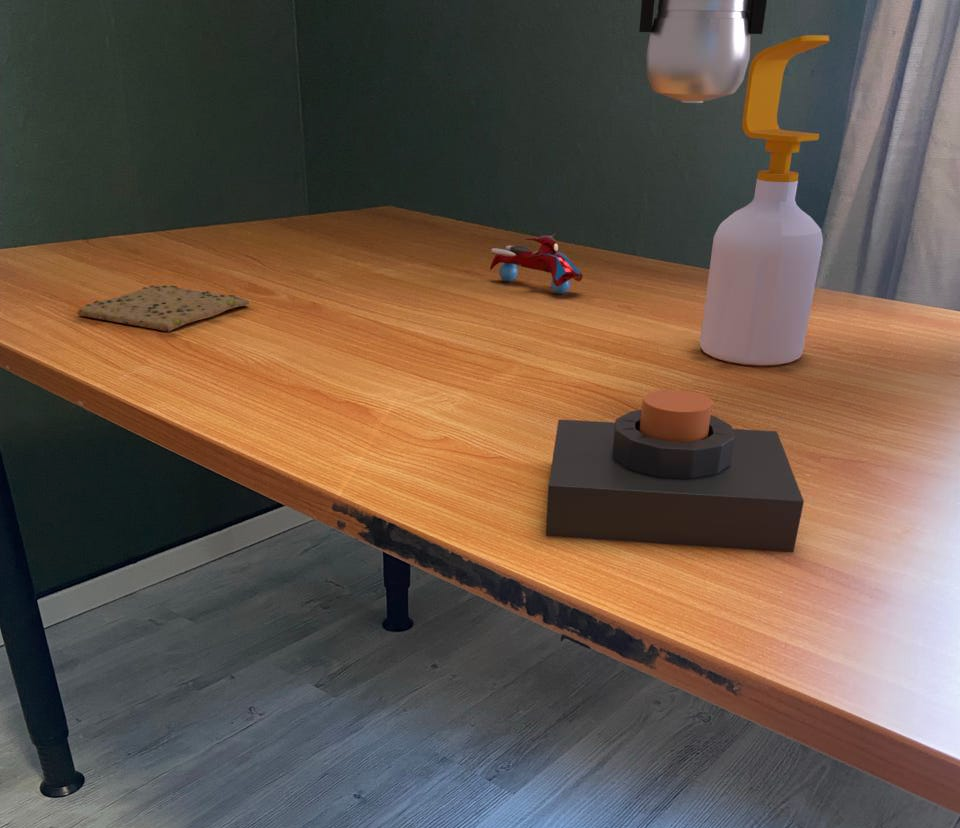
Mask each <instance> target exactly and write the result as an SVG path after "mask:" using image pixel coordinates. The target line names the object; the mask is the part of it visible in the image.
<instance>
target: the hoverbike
mask: <svg viewBox="0 0 960 828" xmlns="http://www.w3.org/2000/svg"><path fill="white" fill-rule="evenodd" d="M555 235H556V233H552V234H551V235H541V236H540V237H537V238H535V237H528V238H526V239H525V241H534V242H537V243H539V244H540V246H539V248H538V250H536V251H532V250H531V249H529V248H528V247H527V246H526V245H524V244H518V245H506V246H505V249H501V248H495V247H494V248H491V249H490V252H491V254H493V255H494V256H493V258H492V261H491V264H490V268H489V270H490V271H491V270H493V269H494V268H495V267H496V266H497V265H498V264H501V265H500V267H499V270H498V272H499V273H498V275H499V277H500V278H501V280H502V281H504V282H506V283H509V282H512V281H514V280H515V279H516V278H517V276H518V272H519V271H518V270H519V269H518V267H517V266H519V267H522V268H526V269H529V270H536V271H541V272H545V273H548V274H550V275H551V277H552V279H551V282H550V287H551V289H552V291H553V292H554V293H555V294H559V295H563V294H566V293H567V292H568V291H569V290H570V287H571V279H572V280H574V281H575V282H581V281H582V280H583V273H582V271H581V270H580V269H579V267H577V265H575V264H574V263H573V262H572V261H571V259H570V258H569V256H567V255H566V254H564V253H563V252H561V251H559V243H558V241H557V240H556V239H555V238H554V237H555Z"/></svg>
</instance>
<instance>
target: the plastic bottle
mask: <svg viewBox="0 0 960 828" xmlns="http://www.w3.org/2000/svg"><path fill="white" fill-rule="evenodd" d="M749 9H750V0H658V1H657V8H656V11H657V13H656V16H655V17H653V22H652V32H649V33H650V34H649V39H648V44H647V49H646V54H645V56H646V60H645V61H646V78H647V80H648V83H649V85H650V88H651V90H652V92H654V93H657V94H660V95H662V96H665V97H666V98H670V99H672V100H675V101H680V103H686V104H688V103H690V104H700V103H701V104H703V103H704V102H709V101H713V100H717V99H719V98H720V99H721V98H723V97H727V96H730V95H733V94H735V93H736V92H737V91H738V90H739V88H740V86H741V84H742V83H743V82H744V79H745V75H746V72H747V67H748V66H749V65H748V64H749V62H750V57H751V35H752V34H749V32H750V19H748V11H749Z"/></svg>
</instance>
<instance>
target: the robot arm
mask: <svg viewBox="0 0 960 828" xmlns="http://www.w3.org/2000/svg"><path fill="white" fill-rule="evenodd" d="M767 2H768V0H750V9H749V11H748V19H750V32H749V34H751V35H763V30H764V24H765V17H766V9H767ZM640 3H641V4H640V16H639V26H638V27H639V30H638V32H639V33H651V32H652V25H653V22H654V9H655V0H641V2H640Z"/></svg>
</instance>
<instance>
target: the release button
mask: <svg viewBox="0 0 960 828" xmlns="http://www.w3.org/2000/svg"><path fill="white" fill-rule="evenodd" d="M641 401H642V403H641V410H642V411H641V420H640V430H639V431H640V432H641V433H642V434H644V435H646V436H648V437H652V438H656V439H660V440H664V441H678V442H692V441H698V440H705V439H706V438H707V437H708V431H709V424H710V417H711V415H712V411H713V401H712V399H710V398H709V397H708V396H706V395H705V394H701V393H698V392H695V391H691V390H685V389H670V388H669V389H658V390H653V391H650V392H647V393H646V394H644V395H643V396H642V400H641Z"/></svg>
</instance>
